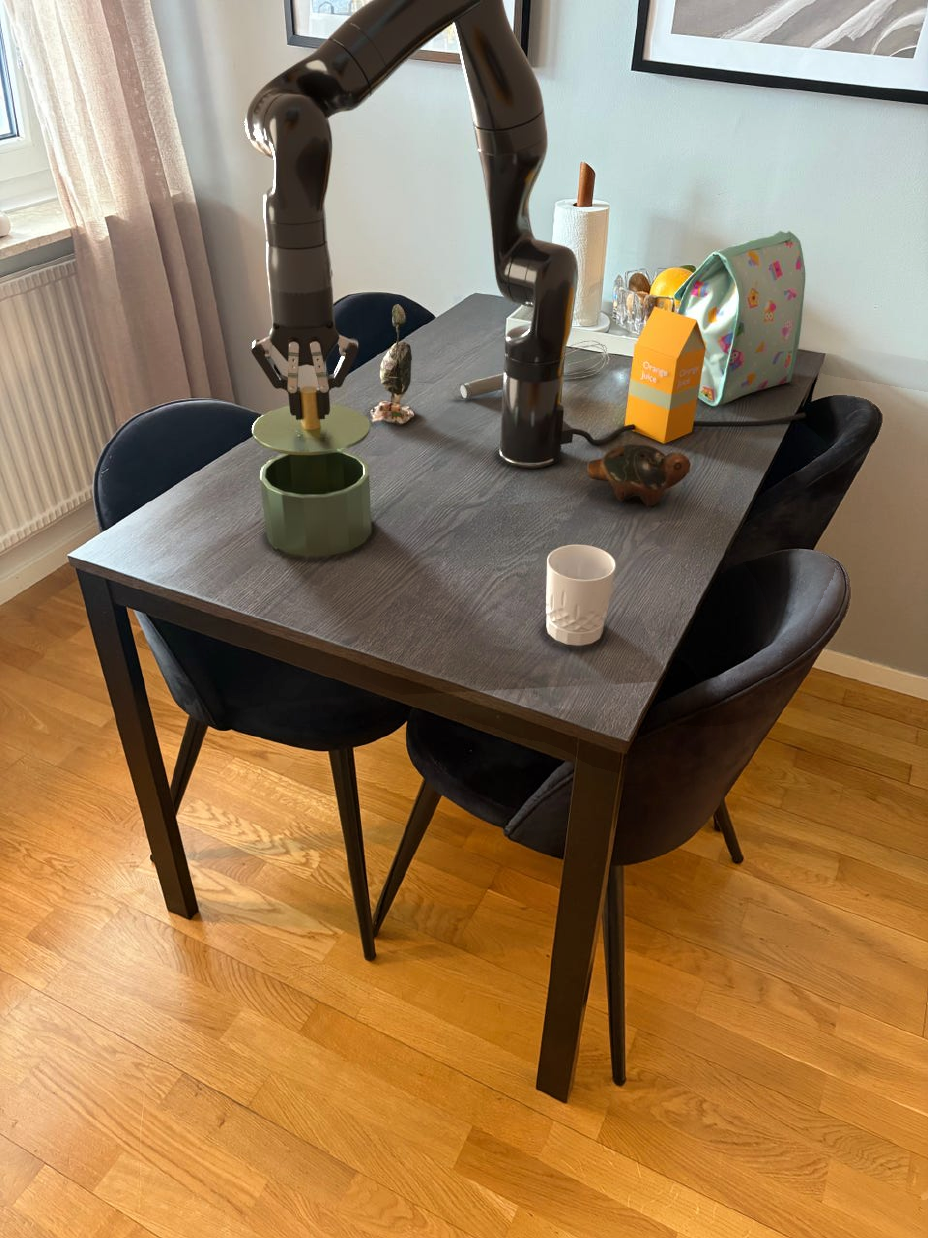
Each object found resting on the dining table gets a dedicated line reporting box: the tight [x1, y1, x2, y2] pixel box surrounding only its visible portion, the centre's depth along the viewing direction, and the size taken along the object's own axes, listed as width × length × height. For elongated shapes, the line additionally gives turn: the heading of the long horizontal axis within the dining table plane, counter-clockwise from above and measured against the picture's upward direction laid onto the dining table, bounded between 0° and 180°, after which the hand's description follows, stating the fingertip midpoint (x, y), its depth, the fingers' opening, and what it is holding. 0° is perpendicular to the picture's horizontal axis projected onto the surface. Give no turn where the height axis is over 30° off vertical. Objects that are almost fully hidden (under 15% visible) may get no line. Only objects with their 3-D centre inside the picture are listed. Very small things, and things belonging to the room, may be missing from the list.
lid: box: [251, 385, 371, 455], centre depth 123 cm, size 15×15×6 cm
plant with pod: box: [370, 304, 415, 426], centre depth 161 cm, size 8×11×20 cm
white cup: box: [545, 544, 617, 647], centre depth 113 cm, size 8×8×10 cm
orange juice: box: [624, 306, 706, 444], centre depth 158 cm, size 8×9×20 cm
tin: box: [259, 450, 372, 558], centre depth 131 cm, size 14×14×10 cm
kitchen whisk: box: [452, 340, 610, 401], centre depth 178 cm, size 6×34×6 cm, turn 119°
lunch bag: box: [673, 230, 806, 407], centre depth 173 cm, size 23×16×27 cm
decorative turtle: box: [586, 443, 691, 507], centre depth 142 cm, size 10×15×8 cm, turn 74°
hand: (310, 416), depth 124 cm, fingers closed on lid, 2 cm apart
